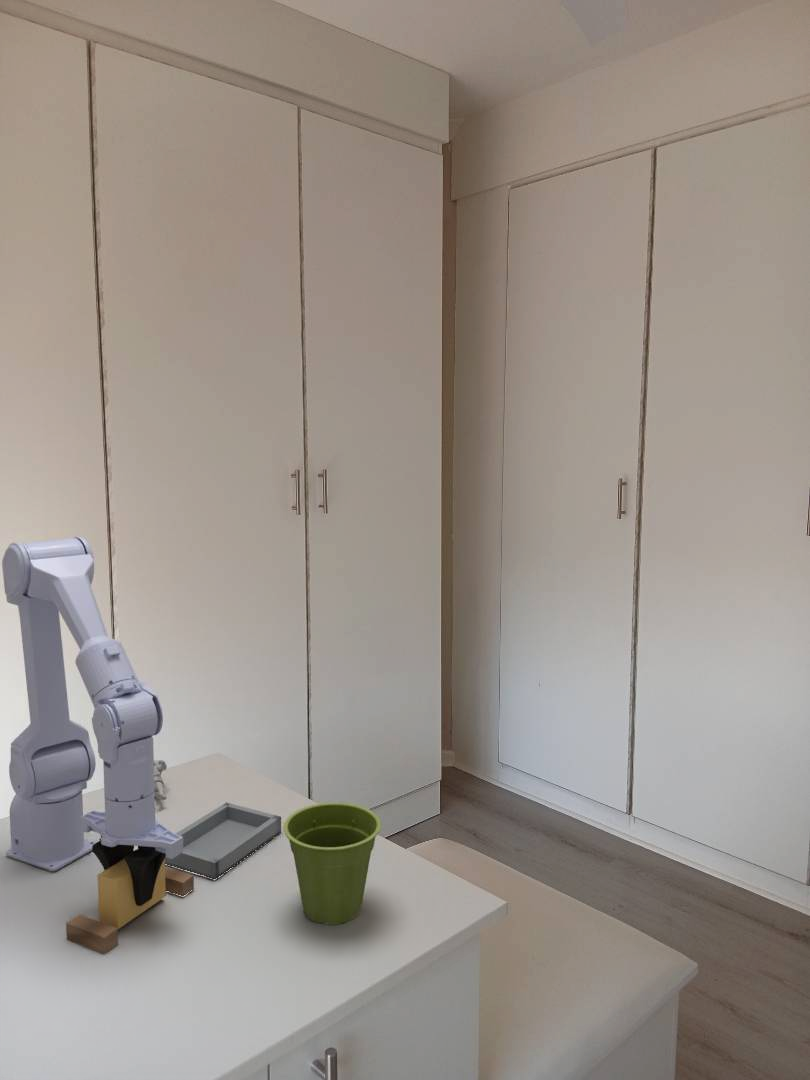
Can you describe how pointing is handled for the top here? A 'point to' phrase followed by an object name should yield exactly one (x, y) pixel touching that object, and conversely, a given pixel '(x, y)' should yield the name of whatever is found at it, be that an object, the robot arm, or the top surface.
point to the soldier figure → (159, 779)
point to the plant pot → (332, 857)
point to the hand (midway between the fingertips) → (133, 897)
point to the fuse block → (123, 894)
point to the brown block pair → (106, 935)
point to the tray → (224, 839)
